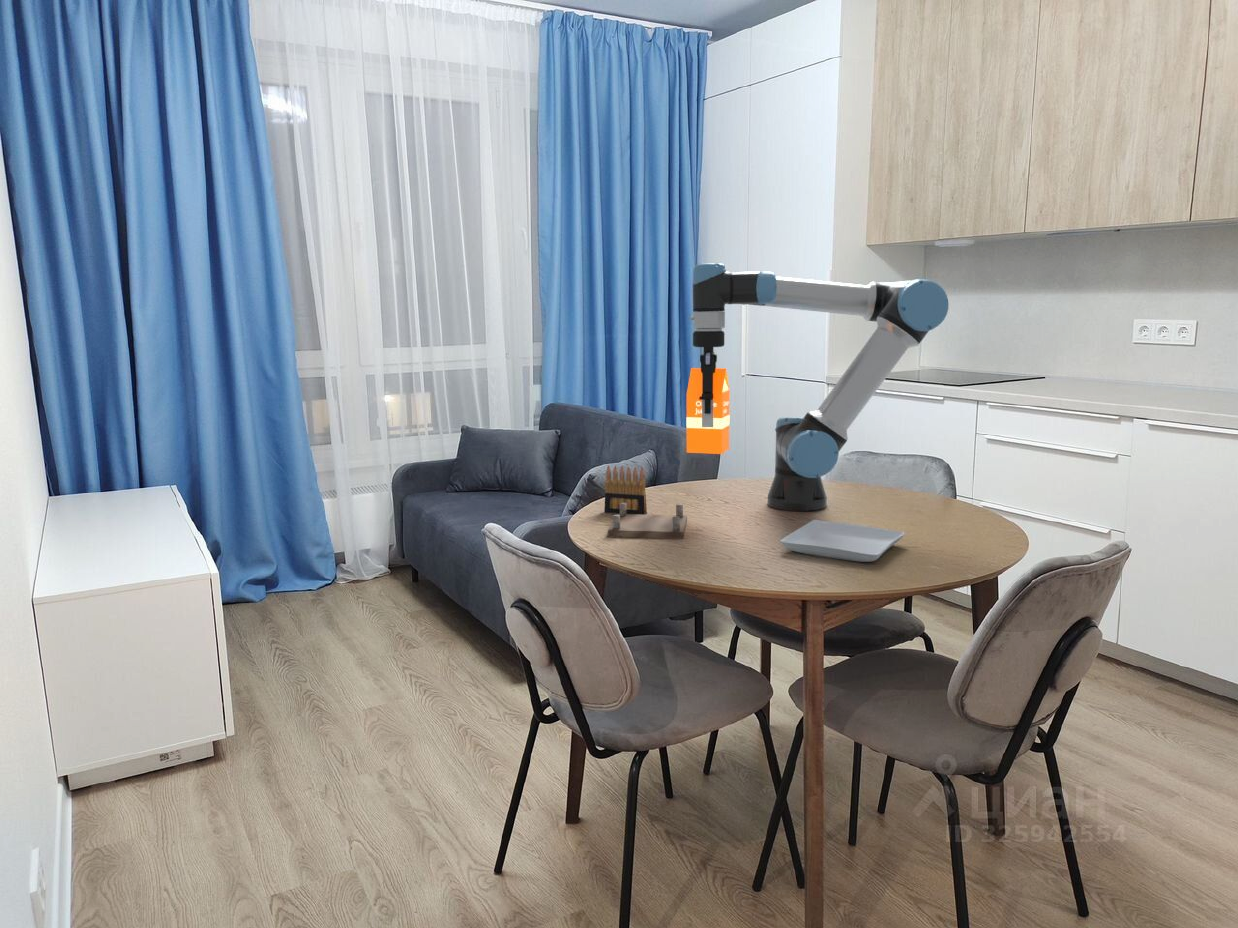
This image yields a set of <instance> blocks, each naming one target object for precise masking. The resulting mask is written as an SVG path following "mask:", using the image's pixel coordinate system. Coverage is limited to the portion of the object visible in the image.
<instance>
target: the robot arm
mask: <svg viewBox="0 0 1238 928" xmlns="http://www.w3.org/2000/svg"><path fill="white" fill-rule="evenodd" d="M692 274H693V275H692V315H690V318H689V319H690V320H691V321H693V322H692V328H693V329H694V331H693V332H692V346H693V347H695V348H703V350H702V351H703V354H700V356H699V361H700V368H701V373H702V396H699V400H702V427H713V411H714V400H713V374H714V373H715V368H717V362H718V354H716V353H715V351H714V348H720V347H724V346H725V332H724V330H723V329H725V328H726V322H725V321H726V320H725V319H726V311H725V310H726V309H725V306H726V305H751V306H759V307H761V306H762V307H771V308H780V309H781V308H783V309H790V310H800V311H811V312H819V313H829V314H839V315H840V314H841V315H849V316H859V317H863V319H864V321H868V322H875V323H876V324H877V328H876V329H875V331H874V332H873V333H872V335H871V336H870V338H869V339H868V340H867V342H866V343H865V344H864V346H863V347H862V348H861V350H860V351H859V352H858V354H857V355H856V357H855V358H854V359H853V360H852V362H851V364H850V365H849V366H848V367H847V369H846V370H845V371H844V373H843V374H842V375H841V377H840V378H839V379H838V381H836V384H835V385H834V387H833V388H832V389H831V391H830V392H829V393H828V394H827V395H826V397H825V399H824V400H823V402H822V403H821V404H820V405H819V407H818V408H817V409H816V410H810V411H807V413H806V414H805V415H804V416H803V417H779V418H778V419H777V421H776V424H775V425H776V426H775V429H774V431H775V457H774V458H775V460H774V461H775V463H774V465H775V467H774V477H773V480H772V483H771V486H770V488H769V490H768V493H767V494H768V495H767V505H768V506H769V507H771V508H773V509H778V510H782V511H783V510H784V511H791V512H792V511H796V512H803V511H804V512H805V511H806V512H807V511H809V512H810V511H817V510H823V509H825V508H826V507H827V504H828V503H827V501H828V498H827V494H826V490H825V487H824V483H823V479H822V477H824V476H825V475H827V474H829V473H830V472H831V471H833V469H834V467H835V466H836V464H837V462H838V459H839V452H840V451H841V450H842V448H843V447H844V445H845V444H846V443H847V442H848V440H849V439H848V438H849V437H848V430H849V428H850V427H851V425H852V424H853V423H854V422H855V420H856V419H857V417H858V416H859V415H860V414H861V412H862V410H863V409H864V408H865V406H867V404H868V402H870V400H871V398H872V397H873V396H874V395H875V393H876V392H877V390H878V389H879V388H880V386H882V384H883V382H884V381H885V380H886V378H887V377H888V376H889V374H890V373H891V372H892V371H893V369H894V368H895V366H897V364H898V363H899V362H900V359H901V358H902V357H903V355H904V354H905V353H906V352H907V350H908V349H910V348H913V347H918V346H919V345H920V343H921V342H922V341H923V339H924V338H925V337H926V336H927V335H928V333H929V331H933V330H935V329H936V328H937V327H938V326H940V325H941V324H942V323H943V321H944V320H945V318H946V317H947V315H948V311H949V305H950V304H949V297H948V295H947V293H946V291H945V289H944V287H942V286H941V285H940V284H939V283H937V282H935V281H933V280H930V279H927V278H915V279H910V280H900V281H892V282H890V281H889V282H879V281H878V282H876V281H871V282H869V284H867V285H864V284H857V283H856V284H855V283H848V282H847V283H846V282H845V283H844V282H834V281H826V280H824V281H823V280H815V279H805V278H803V279H802V278H797V277H794V278H793V277H784V276H776V274H775V273H774V272H773V271H763V270H759V271H737V272H736V271H734V272H732V271H727V270H726V266H725V264H724V263H698V264H696V265H695V266H694V267H693V273H692Z"/></svg>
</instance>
